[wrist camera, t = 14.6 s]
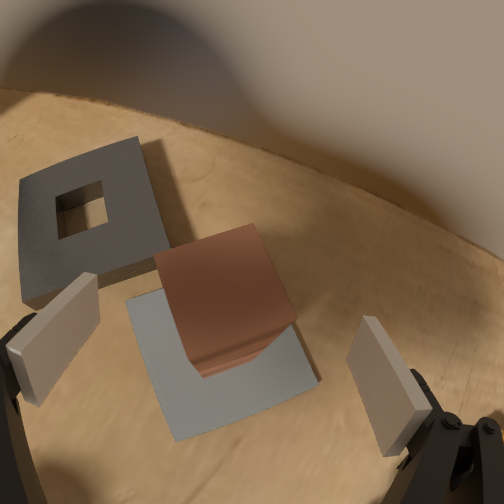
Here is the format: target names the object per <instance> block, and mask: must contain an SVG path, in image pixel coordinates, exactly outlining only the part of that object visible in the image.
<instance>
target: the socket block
mask: <svg viewBox="0 0 504 504" xmlns="http://www.w3.org/2000/svg"><path fill="white" fill-rule="evenodd" d="M103 196H104V200H105V205H106V211H107V216H108V221H109V222H107V223H104V224H102V225H99V226H96V227H93V228H90V229H88V230H85V231H82V232H79V233H77V234H74V235H71V236H68V237H67V235H66V225H65V214H64V211H65V210H68V209H70V208H73V207H76V206H78V205H81V204H84V203H87V202H89V201H92V200H95V199H98V198H101V197H103ZM168 249H171V247H170V244H169V241H168V238H167V235H166V232H165V229H164V226H163V223H162V219H161V216H160V213H159V210H158V206H157V203H156V200H155V196H154V193H153V190H152V186H151V183H150V179H149V176H148V172H147V169H146V165H145V161H144V158H143V154H142V150H141V146H140V143H139V139H138V136H136V137H132V138H129V139H126V140H122V141H119V142H116V143H113V144H110V145H107V146H104V147H101V148H98V149H95V150H92V151H89V152H87V153H84V154H81V155H78V156H76V157H73V158H70V159H68V160H65V161H63V162H60V163H57V164H55V165H52V166H50V167H48V168H45V169H43V170H40V171H38V172H36V173H33V174H31V175H29V176H27V177H24V178H22V179H20V184H19V202H18V254H19V272H20V285H21V295H22V302H23V303H24V304H26V305H27V306H29V307H31V308H32V309H34V310H39V309H42V308H44V307H45V306H47V305H48V304H49V303H50V302H51V301H52V300H53V299H54V298H55V297H56V296H57V295H59V294H60V293H61V292H62V291H63V290H64V289H65V288H66V287H68V286H69V285H70V284H71V283H72V282H73V281H74V280H76V279H77V278H78V277H79V276H80V275H81V274H82V273H84V272H87V273H92V274H97V277H98V289H100V288H103V287H106V286H109V285H112V284H115V283H118V282H120V281H123V280H126V279H129V278H132V277H135V276H138V275H141V274H144V273H147V272H150V271H153V270H156V269H157V266H156V262H155V259H154V255H153V254H156V253H159V252H162V251H165V250H168Z"/></svg>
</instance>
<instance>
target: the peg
mask: <svg viewBox="0 0 504 504" xmlns="http://www.w3.org/2000/svg"><path fill="white" fill-rule="evenodd" d="M153 255H154V259H155V262H156V266H157V269H158V272H159V276H160V279H161V282H162V285H163V289H164V292H165V295H166V298H167V301H168V304H169V307H170V310H171V313H172V316H173V319H174V322H175V325H176V328H177V331H178V333H179V336H180V339H181V342H182V345H183V347H184V350H185V353H186V355H187V358H188V360H189V361H190V362H191V364H192V365H193V366H194V368H195V369H196V370H197V371H198V373H199V374H200V375H201V376H202V378H203V379H204V378H207V377H210V376H213V375H216V374H219V373H221V372H224V371H227V370H229V369H232V368H235V367H237V366H240V365H243V364H245V363H248V362H250V361H253V360H254V359H255V358H256V357H257V356H258V355H259V354H260V353H261V352H262V351H263V350H264V349H265V348H266V347H267V346H269V345H270V344H271V343H272V342H273V341H274V340H275V339H276V338H277V337H278V336H279V335H280V334H281V333H282V332H283V331H284V330H285V329H286V328H287V327H288V326H289V325H290V324H291V323H292V322H293V321H294V320H295V319H296V318H297V316H296V314H295V312H294V309H293V307H292V305H291V303H290V301H289V299H288V296H287V294H286V292H285V290H284V288H283V286H282V283H281V281H280V279H279V277H278V275H277V273H276V271H275V268H274V266H273V264H272V262H271V260H270V258H269V256H268V253H267V251H266V249H265V247H264V245H263V243H262V241H261V238H260V236H259V234H258V232H257V230H256V228H255V226H254V224H253V223H252V224H249V225H245V226H242V227H239V228H236V229H232V230H229V231H226V232H222V233H219V234H216V235H213V236H209V237H206V238H203V239H200V240H197V241H193V242H190V243H187V244H184V245H181V246H178V247H174V248H171V249H168V250H165V251H162V252H159V253H156V254H153Z"/></svg>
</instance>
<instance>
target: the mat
mask: <svg viewBox="0 0 504 504" xmlns="http://www.w3.org/2000/svg"><path fill="white" fill-rule="evenodd" d="M125 302H126V305H127V309H128V312H129V316H130V319H131V323H132V326H133V329H134V332H135V336H136V339H137V342H138V345H139V348H140V351H141V354H142V357H143V360H144V363H145V366H146V369H147V372H148V374H149V377H150V380H151V383H152V385H153V388H154V391H155V393H156V396H157V398H158V401H159V404H160V406H161V409H162V411H163V414H164V416H165V418H166V421H167V423H168V426H169V428H170V430H171V433H172V435H173V437H174V439H175V442H178V441H181V440H184V439H187V438H190V437H193V436H196V435H199V434H202V433H205V432H208V431H211V430H214V429H217V428H220V427H222V426H225V425H228V424H230V423H233V422H236V421H238V420H241V419H243V418H246V417H248V416H251V415H253V414H256V413H258V412H261V411H263V410H265V409H268V408H270V407H272V406H275V405H277V404H279V403H281V402H284V401H286V400H288V399H290V398H292V397H295V396H297V395H299V394H301V393H303V392H305V391H307V390H309V389H311V388H313V387H315V386H317V385H319V383H318V381H317V379H316V377H315V374H314V372H313V370H312V368H311V366H310V364H309V361H308V359H307V357H306V355H305V353H304V351H303V348H302V346H301V344H300V342H299V340H298V338H297V335H296V333H295V331H294V329H293V327H292V325H291V324H290V325H289V326H288V327H287V328H286V329H285V330H284V331H283V332H282V333H281V334H280V335H279V336H278V337H277V338H276V339H275V340H274V341H273V342H272V343H271V344H270V345H269V346H267V347H266V348H265V349H264V350H263V351H262V352H261V353H260V354H259V355H258V356H257V357H256V358H255V359H254V360H253V361H250V362H248V363H245V364H243V365H240V366H237V367H235V368H232V369H229V370H227V371H224V372H221V373H219V374H216V375H213V376H210V377H207V378H204V379H203V378H202V376H201V375H200V374H199V373H198V371H197V370H196V369H195V368H194V366H193V365H192V364H191V362H190V361H189V360H188V358H187V355H186V353H185V350H184V347H183V345H182V342H181V339H180V336H179V333H178V331H177V328H176V325H175V322H174V319H173V316H172V313H171V310H170V307H169V304H168V301H167V298H166V295H165V292H164V289H163V288H162V289H159V290H156V291H153V292H150V293H147V294H144V295H141V296H138V297H135V298H132V299H129V300H126V301H125Z"/></svg>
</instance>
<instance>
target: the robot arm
mask: <svg viewBox="0 0 504 504" xmlns="http://www.w3.org/2000/svg"><path fill="white" fill-rule="evenodd" d="M99 323H100V313H99V298H98V277H97V274H92V273H87V272H84V273H82V274H81V275H80V276H79V277H78V278H77V279H76V280H74V281H73V282H72V283H71V284H70V285H69V286H68V287H66V288H65V289H64V290H63V291H62V292H61V293H60V294H59V295H57V296H56V297H55V298H54V299H53V300H52V301H51V302H50V303H49V304H48V305H47V306H45V307H44V308H43V309H42V310H41V311H40V312H39V313H38V314H37V313H31V314H29V315H27V316H25V317H24V318H23V319H21V320H20V321H19V322H18V324H16V325H15V326H14V327H13V328H12V330H10V331H9V332H8V333H7V334H6V335H5V336H4V337H3V338H1V339H0V504H47V501H46V499H45V496H44V494H43V491H42V488H41V485H40V482H39V479H38V476H37V473H36V470H35V467H34V464H33V461H32V457H31V454H30V450H29V447H28V443H27V439H26V435H25V431H24V426H23V422H22V417H21V412H20V407H19V402H18V400H17V397H16V396H17V395H18V393H19V392H20V391H21V393H22V395H23V398H24V400H25V401H26V402H29V403H31V404H33V405H35V406H38V407H40V406H41V405H42V403H43V402H44V400H45V399H46V397H47V396H48V394H49V393H50V391H51V390H52V388H53V387H54V385H55V384H56V382H57V381H58V379H59V378H60V377H61V375H62V374H63V372H64V371H65V369H66V368H67V367H68V365H69V364H70V362H71V361H72V360H73V358H74V357H75V355H76V354H77V353H78V351H79V350H80V348H81V347H82V346H83V344H84V343H85V342H86V340H87V339H88V338H89V336H90V335H91V334H92V332H93V331H94V330H95V328H96V327H97V326H98V324H99ZM346 360H347V362H348V365H349V367H350V370H351V373H352V375H353V378H354V380H355V383H356V385H357V388H358V391H359V393H360V396H361V398H362V401H363V404H364V406H365V409H366V412H367V414H368V417H369V420H370V423H371V425H372V428H373V431H374V434H375V436H376V439H377V442H378V445H379V448H380V450H381V453H382V456H383V457H390V456H397V455H400V453H401V452H402V451H403V450H404V448H405V447H407V449H408V451H409V454H408V455H407V456H406V457H405V459H404V460H403V461H402V462H401V463H400V465H399V466H398V467H397V468H396V469H399V468H400V469H399V471H398V473H397V475H396V477H395V479H394V481H393V483H392V485H391V487H390V488H389V490H388V492H387V494H386V496H385V497H384V499H383V501H382V503H381V504H504V442H503V437H502V432H501V428H500V426H499V425H498V423H497V422H496V421H495V420H493V419H491V418H488V417H482V418H480V419H479V421H478V422H477V423H476V425H475V426H473V425H465V424H462V422H461V420H460V419H459V418H458V417H457V416H456V415H454V414H453V413H450V412H444V411H443V409H442V408H441V406H440V404H439V403H438V401H437V399H436V398H435V396H434V395H433V393H432V391H430V388H429V386H428V385H427V383H426V382H425V380H424V378H423V377H422V376H421V375H420V374H419V373H418V372H417V371H416V370H415V369H409V368H408V366H407V365H406V363H405V361H404V360H403V358H402V357H401V355H400V353H399V352H398V350H397V348H396V347H395V345H394V344H393V342H392V341H391V339H390V337H389V336H388V334H387V333H386V331H385V330H384V328H383V327H382V325H381V323H380V322H379V320H378V319H377V317H375V316H365V315H363V316H362V319H361V322H360V324H359V327H358V330H357V333H356V335H355V338H354V341H353V343H352V346H351V348H350V351H349V353H348V356H347V359H346Z"/></svg>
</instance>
